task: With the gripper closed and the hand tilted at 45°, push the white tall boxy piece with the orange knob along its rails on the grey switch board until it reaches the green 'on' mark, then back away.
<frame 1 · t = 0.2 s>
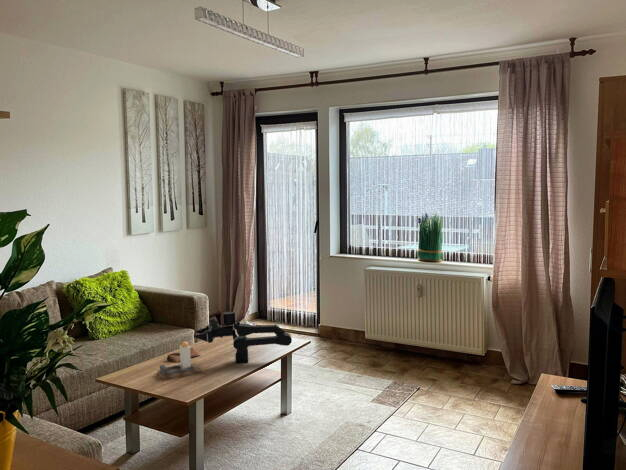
hand: (195, 334, 293), 16 cm above the table, tool horizontal, fingers open, 9 cm apart
white tall boxy piece: (185, 355, 281), point 9 cm above the table, slide at 0.0 cm
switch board: (180, 372, 280), on the table
sunglasses case: (184, 359, 305), on the table
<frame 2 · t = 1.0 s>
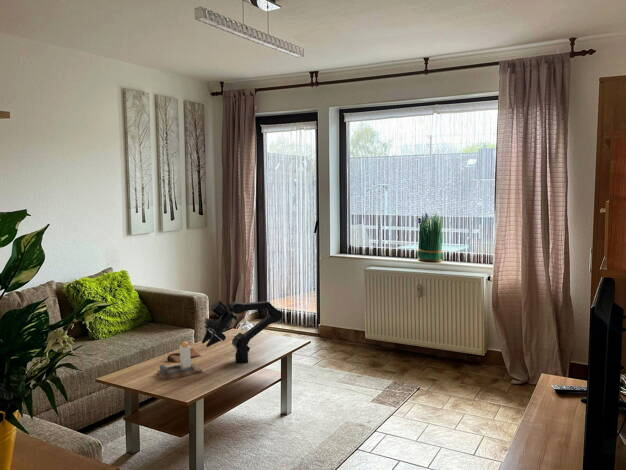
hand: (204, 344, 286), 13 cm above the table, tool tilted 45°, fingers open, 7 cm apart
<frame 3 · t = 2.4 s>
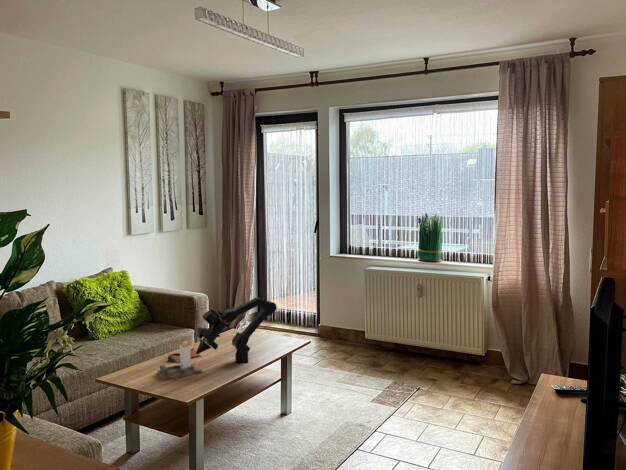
hand: (196, 353, 284), 9 cm above the table, tool tilted 45°, fingers closed
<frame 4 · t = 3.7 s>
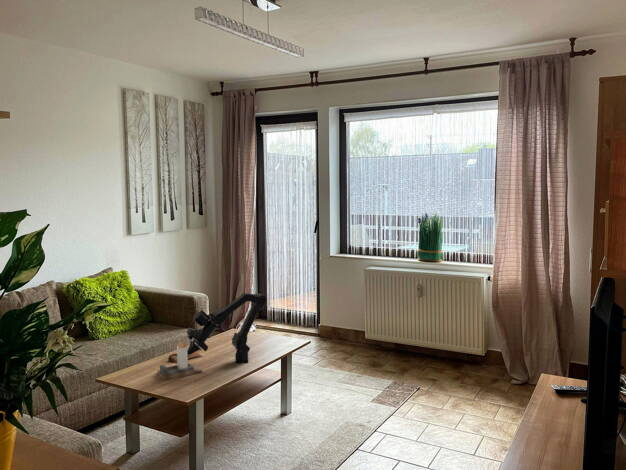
hand: (186, 355, 281), 9 cm above the table, tool tilted 45°, fingers closed, pressing on white tall boxy piece
white tall boxy piece: (182, 355, 280), point 9 cm above the table, slide at 1.6 cm, touching gripper
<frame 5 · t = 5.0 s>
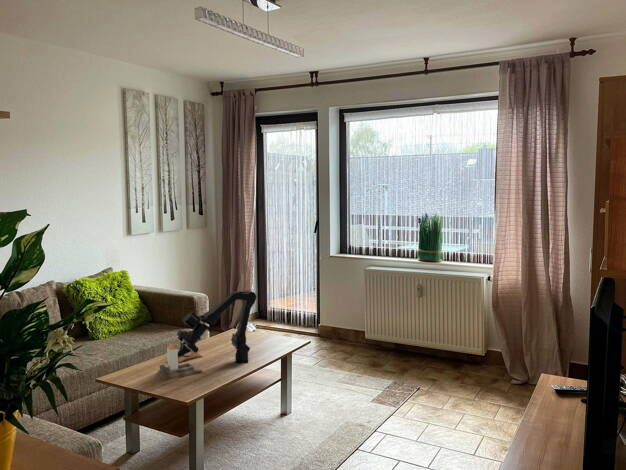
hand: (176, 356, 279), 9 cm above the table, tool tilted 45°, fingers closed
white tall boxy piece: (172, 357, 278), point 9 cm above the table, slide at 6.7 cm
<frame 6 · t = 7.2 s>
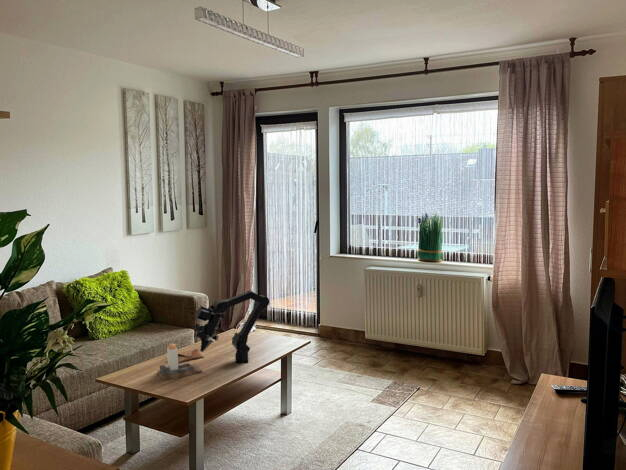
hand: (201, 351, 285), 9 cm above the table, tool tilted 25°, fingers closed
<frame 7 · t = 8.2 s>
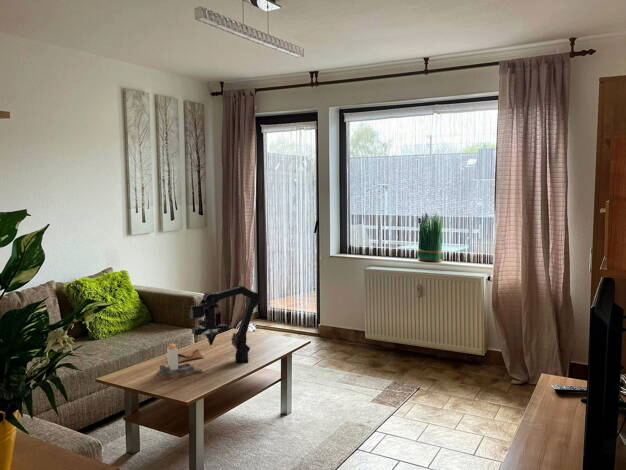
hand: (210, 345, 288), 12 cm above the table, tool pointing down, fingers closed
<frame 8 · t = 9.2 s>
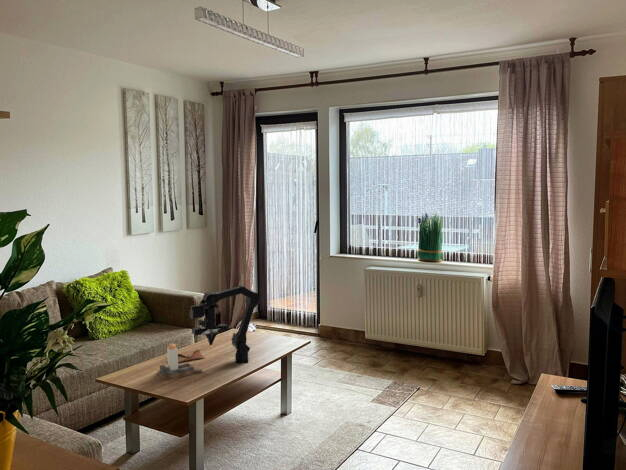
hand: (210, 345, 288), 12 cm above the table, tool pointing down, fingers closed
at the end: white tall boxy piece slide at 6.7 cm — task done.
